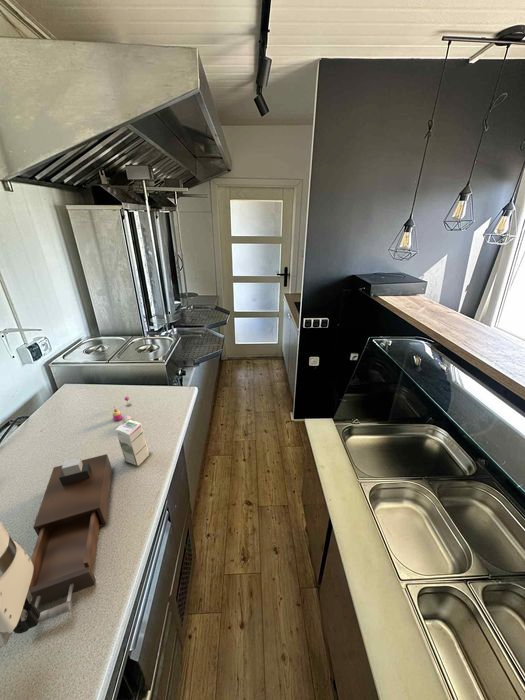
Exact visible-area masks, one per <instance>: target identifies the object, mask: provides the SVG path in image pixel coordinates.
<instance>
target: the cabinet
mask: <svg viewBox="0 0 525 700" xmlns="http://www.w3.org/2000/svg"><path fill="white" fill-rule="evenodd" d="M81 460H82V463H83V464H86V463H89V465H90V467H91V475H90V478H87V479H83V480H80V481H76V482H72V483H69V484H65V485H62V484H61V481H60V479H59V476H60V473H61V470H62V466H63V464H61V465H56V466H53V469H52V472H51V473H50V477H49V480H48V483H47V486H46V489H45V491H44V495H43V497H42V501H41V504H40V506H39V509H38V512H37V515H36V517H35V521H34V524H33V527H32V528H33V529H34V532H35V534H36V535H37V537H38V536H39V533H40V530H41V527H44V526H47V525H50V524H54V523H57V522H60V521H63V520H67V519H70V518H73V517H77V516H80V515H83V514H86V513H90V512H93V511H96V510H97V512H98V514H99V517H100V524H99V528H100V527H102V526H105V525H107V519H108V511H109V501H110V494H111V493H110V492H111V484H112V476H113V466H112V464H111V461H110V458H109V455H108V454H107V453H106V454H101V455H97V456H93V457H89V458H86V459H81Z"/></svg>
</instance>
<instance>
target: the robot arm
mask: <svg viewBox="0 0 525 700" xmlns="http://www.w3.org/2000/svg"><path fill="white" fill-rule="evenodd" d="M33 570H34V566H33V563H32V561H31V558H30V556H29V554H28V553H27V552H26V551H25V549H24V548H22V546H21V545H20V544H18V542H16V541H15V540H13V539H12V537H11V535H10V534H9V533H8V531H7V530H6V528H5V526H4V525H3V523H2V522H1V521H0V648H2V647H4V646H6V645H8V642H9V641H10V638H11V636H12V633H13V632H14V634H18V635H20V634H21V635H22V634H25V633H26V632H28V631H29V629H32V628H36V627H37V626H38V625H39V623H38V618H39V617H40V612H41V611H40V610H37V608H36V607H35V605H34V604H33V603H31V602H32V595H31V593H30V590H29V586H30V583H31V579H32V575H33Z"/></svg>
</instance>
